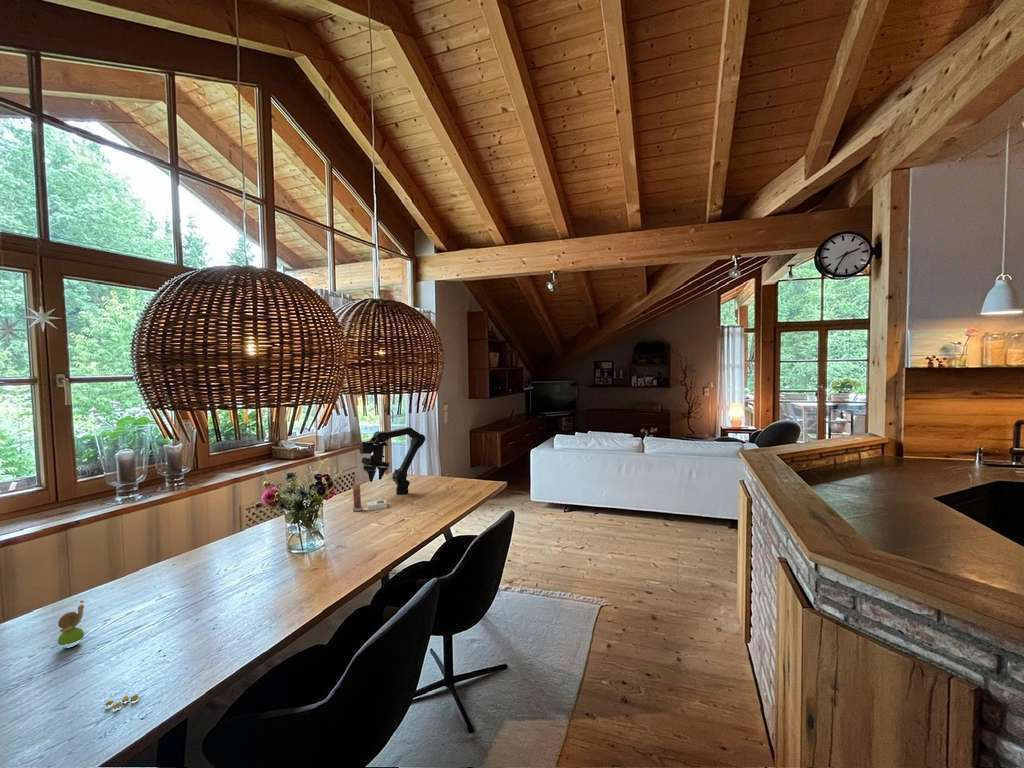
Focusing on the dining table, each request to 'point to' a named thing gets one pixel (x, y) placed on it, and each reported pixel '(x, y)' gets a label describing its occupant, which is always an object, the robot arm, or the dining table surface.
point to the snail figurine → (71, 626)
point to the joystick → (357, 498)
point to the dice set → (123, 701)
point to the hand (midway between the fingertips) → (375, 480)
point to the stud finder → (376, 505)
